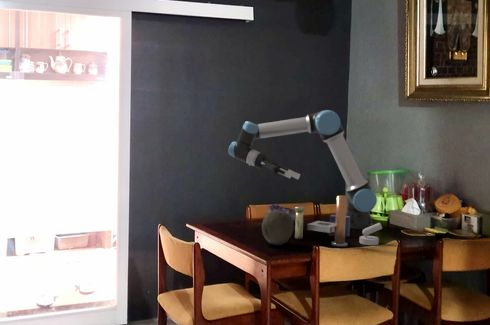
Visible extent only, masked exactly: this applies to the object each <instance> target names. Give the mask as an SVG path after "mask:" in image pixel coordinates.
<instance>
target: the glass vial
mask: <svg viewBox="0 0 490 325" xmlns="http://www.w3.org/2000/svg"><path fill="white" fill-rule="evenodd" d="M294 210H295V213H296V222H294V224H295V225H294V239H298V238H299V239H300V240H301V239H303V236H304V235H303V230H304V212H305V206H298V205H297V206H295V207H294Z"/></svg>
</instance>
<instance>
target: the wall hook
mask: <svg viewBox="0 0 490 325" xmlns="http://www.w3.org/2000/svg"><path fill="white" fill-rule="evenodd" d="M382 229H383V226H382V224H381V223H380V222H377V223H375V224H372V226H370V227H368V228H365V229H362V235H361V236H359V239H358V240H359V241H358V242H359V243H360V244H361V245H366V246H378V245H379V244H380V241H379V240H380V238H379V237H378V236H373V235H371V234H374V233H375V232H377V231H380V230H382Z"/></svg>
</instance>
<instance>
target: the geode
mask: <svg viewBox="0 0 490 325" xmlns="http://www.w3.org/2000/svg"><path fill="white" fill-rule="evenodd" d="M271 211H283V212H286V213H288V214H289V215H290V216H291V218H292V219H293V222H294V223H296V210H295V208H290V207H284V206H281V205H279V203H278V202H276V203H275V204H274V203H272V204H271V205H268V212H267V214H268V213H269V212H271Z"/></svg>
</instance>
